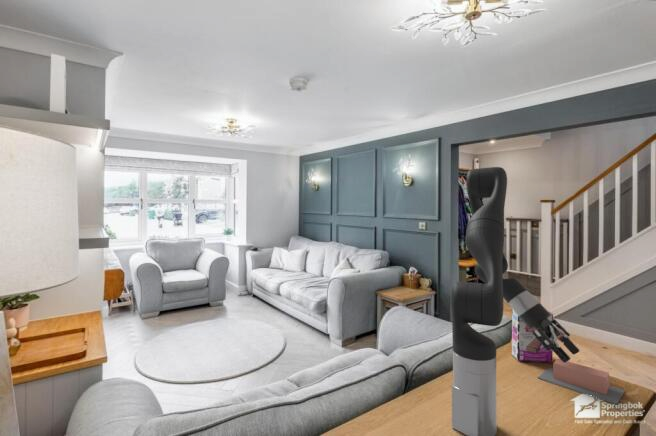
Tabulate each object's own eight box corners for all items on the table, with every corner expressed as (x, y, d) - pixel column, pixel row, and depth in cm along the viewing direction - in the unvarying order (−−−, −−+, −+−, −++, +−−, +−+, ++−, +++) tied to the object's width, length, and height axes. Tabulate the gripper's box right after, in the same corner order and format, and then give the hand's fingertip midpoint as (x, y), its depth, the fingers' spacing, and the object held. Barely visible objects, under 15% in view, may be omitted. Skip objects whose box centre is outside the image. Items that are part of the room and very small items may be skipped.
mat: (616, 404, 84) (616, 403, 84) (537, 378, 98) (537, 377, 98) (625, 391, 90) (625, 390, 90) (549, 368, 104) (549, 367, 104)
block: (553, 378, 97) (605, 394, 88) (553, 363, 97) (605, 377, 88) (557, 373, 100) (609, 388, 91) (557, 358, 100) (608, 372, 91)
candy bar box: (518, 362, 109) (517, 312, 109) (511, 355, 114) (511, 308, 114) (554, 363, 108) (553, 313, 108) (545, 356, 113) (545, 309, 113)
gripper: (528, 306, 97) (576, 357, 89) (546, 298, 106) (590, 344, 98) (510, 319, 102) (553, 370, 93) (528, 311, 111) (569, 356, 102)
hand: (572, 356), depth 95 cm, fingers open, 8 cm apart
